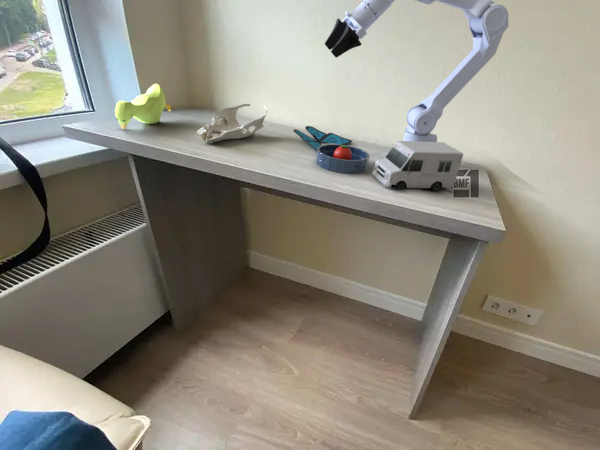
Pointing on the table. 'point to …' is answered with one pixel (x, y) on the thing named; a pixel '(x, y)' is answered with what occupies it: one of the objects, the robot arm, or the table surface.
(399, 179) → the toy truck
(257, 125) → the anatomical model
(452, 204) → the table surface
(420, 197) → the table surface
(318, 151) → the bowl
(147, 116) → the toy
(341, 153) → the tomato
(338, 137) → the decorative butterfly
